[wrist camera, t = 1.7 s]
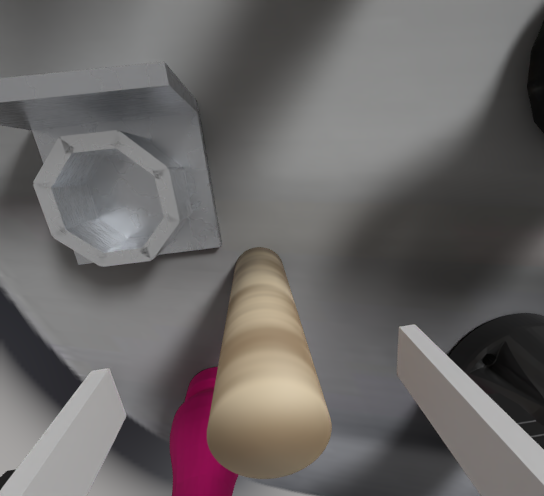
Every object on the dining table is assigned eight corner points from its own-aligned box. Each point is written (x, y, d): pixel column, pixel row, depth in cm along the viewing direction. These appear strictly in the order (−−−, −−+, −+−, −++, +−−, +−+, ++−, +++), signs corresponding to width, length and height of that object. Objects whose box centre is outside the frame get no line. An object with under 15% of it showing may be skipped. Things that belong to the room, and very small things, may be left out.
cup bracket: (221, 243, 24) (207, 279, 16) (85, 260, 24) (5, 306, 16) (197, 100, 21) (164, 61, 13) (37, 117, 20) (-95, 87, 12)
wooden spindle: (285, 289, 26) (334, 469, 10) (238, 295, 26) (218, 487, 10) (280, 244, 24) (328, 375, 9) (231, 250, 24) (195, 394, 9)
